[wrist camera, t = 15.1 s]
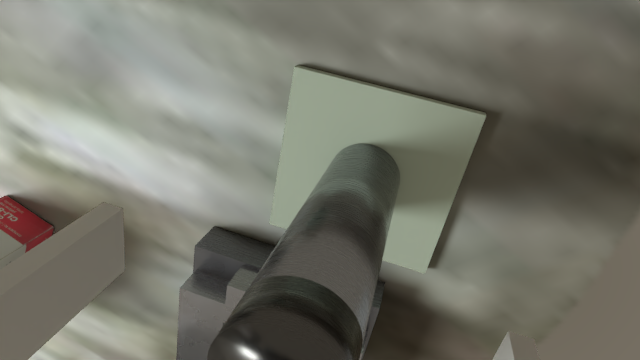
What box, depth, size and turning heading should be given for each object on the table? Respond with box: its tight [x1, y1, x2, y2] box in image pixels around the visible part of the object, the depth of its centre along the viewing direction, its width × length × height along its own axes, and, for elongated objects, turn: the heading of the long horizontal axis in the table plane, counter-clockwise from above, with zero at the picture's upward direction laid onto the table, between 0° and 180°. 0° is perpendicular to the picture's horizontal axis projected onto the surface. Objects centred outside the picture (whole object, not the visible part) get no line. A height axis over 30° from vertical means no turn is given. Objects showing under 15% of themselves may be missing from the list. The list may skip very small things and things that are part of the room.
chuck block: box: [176, 226, 385, 360], centre depth 28 cm, size 12×12×4 cm
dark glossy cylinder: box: [207, 143, 400, 360], centre depth 17 cm, size 4×4×14 cm
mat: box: [269, 65, 486, 274], centre depth 24 cm, size 10×10×1 cm
